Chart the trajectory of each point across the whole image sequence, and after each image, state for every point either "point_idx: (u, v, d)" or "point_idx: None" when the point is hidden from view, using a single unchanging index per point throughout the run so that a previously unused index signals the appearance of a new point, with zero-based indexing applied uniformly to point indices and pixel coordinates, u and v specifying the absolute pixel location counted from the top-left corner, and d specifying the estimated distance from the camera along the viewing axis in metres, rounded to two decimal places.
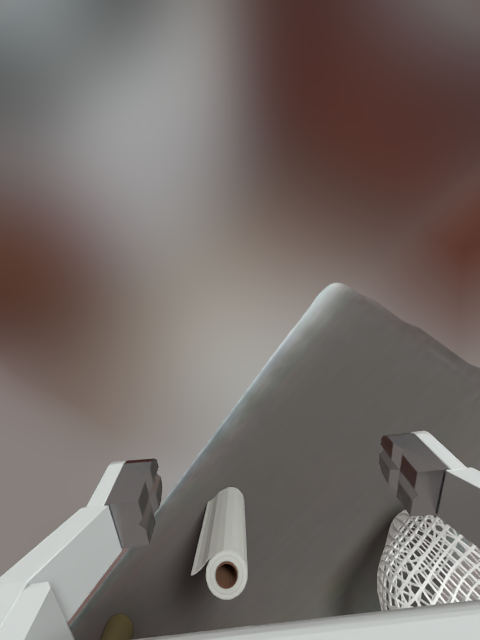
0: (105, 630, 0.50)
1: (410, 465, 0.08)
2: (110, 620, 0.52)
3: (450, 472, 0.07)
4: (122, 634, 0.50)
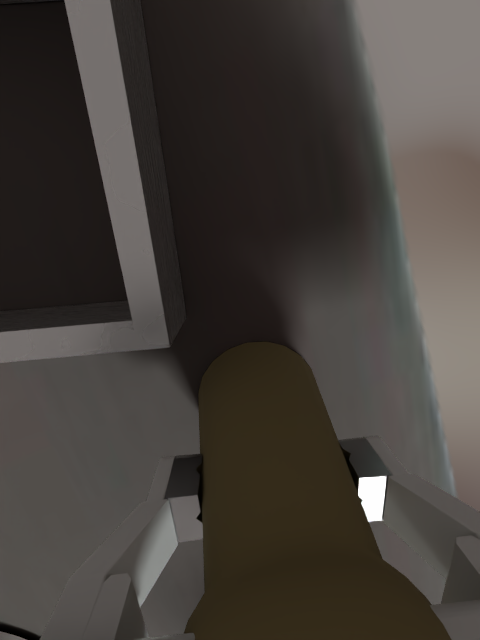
0: None
1: (355, 471, 0.08)
2: None
3: (392, 478, 0.07)
4: None
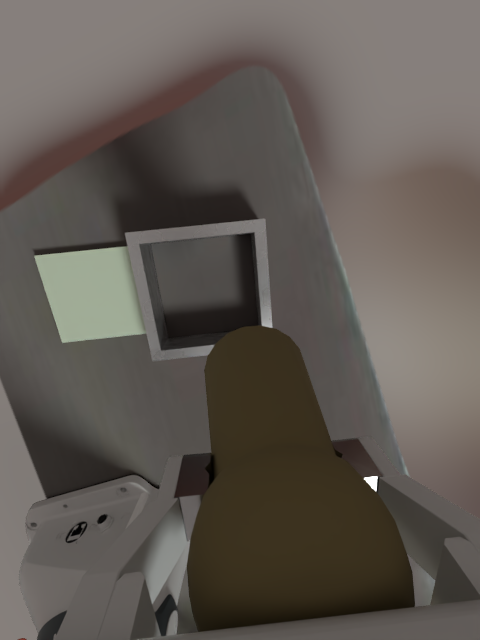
0: None
1: None
2: None
3: (383, 479, 0.07)
4: None
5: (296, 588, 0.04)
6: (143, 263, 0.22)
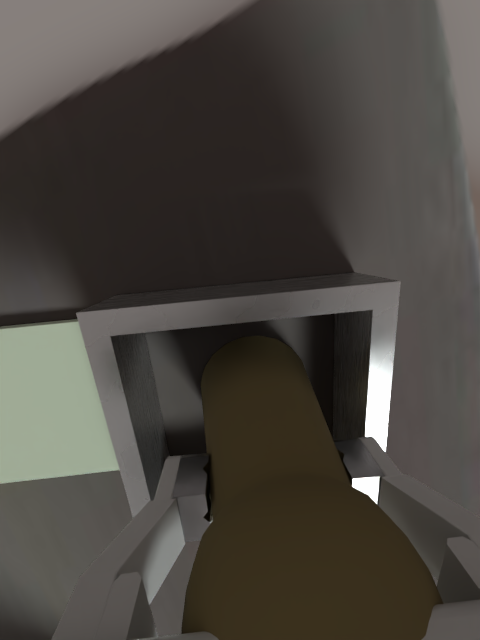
0: None
1: (348, 471, 0.08)
2: None
3: (385, 479, 0.07)
4: None
5: None
6: (122, 372, 0.10)
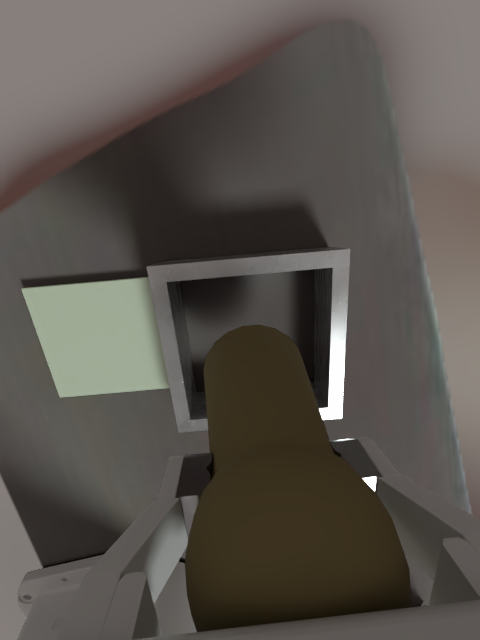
0: None
1: None
2: None
3: (382, 479, 0.07)
4: None
5: (293, 585, 0.04)
6: (171, 307, 0.16)
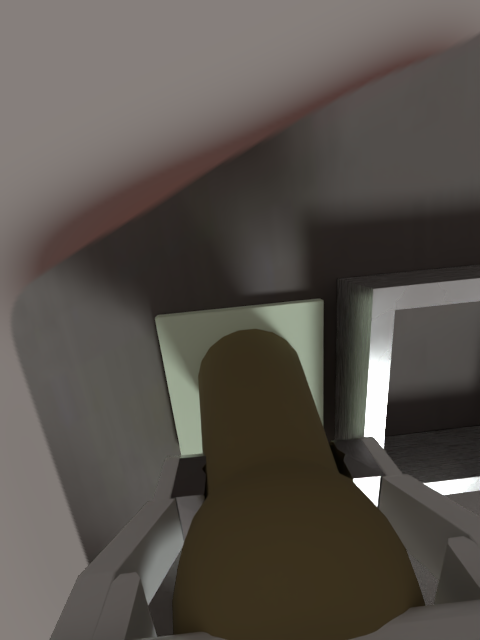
0: None
1: (349, 471, 0.08)
2: None
3: (386, 479, 0.07)
4: None
5: (295, 639, 0.04)
6: (388, 343, 0.12)
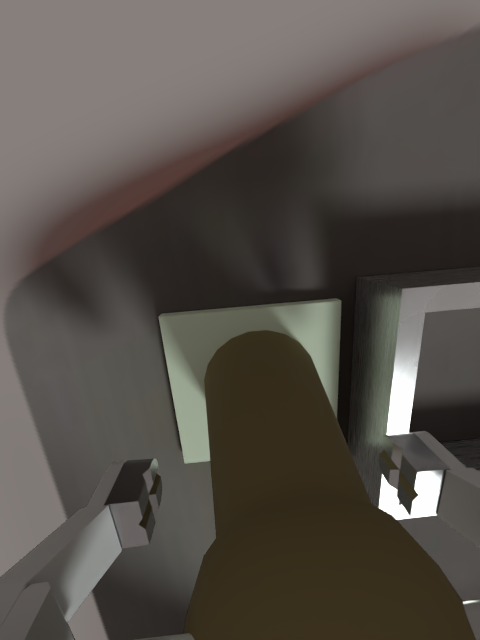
0: None
1: (410, 465, 0.08)
2: None
3: (450, 472, 0.07)
4: None
5: None
6: (414, 348, 0.10)
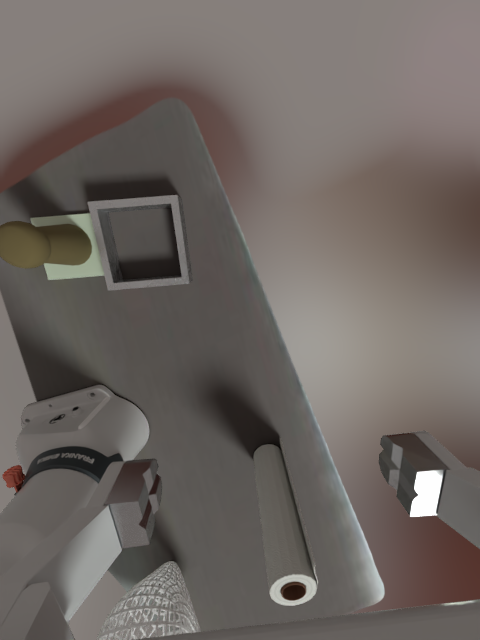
0: (80, 239, 0.36)
1: (410, 465, 0.08)
2: (88, 242, 0.37)
3: (450, 472, 0.07)
4: (67, 263, 0.36)
5: (4, 228, 0.27)
6: (100, 222, 0.35)
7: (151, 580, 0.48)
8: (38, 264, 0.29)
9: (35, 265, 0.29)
